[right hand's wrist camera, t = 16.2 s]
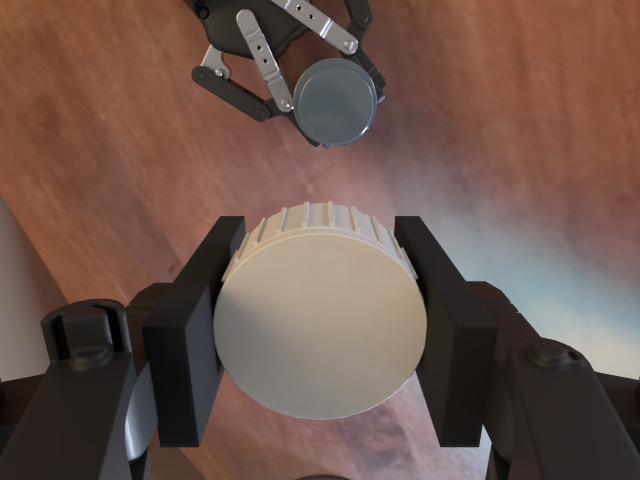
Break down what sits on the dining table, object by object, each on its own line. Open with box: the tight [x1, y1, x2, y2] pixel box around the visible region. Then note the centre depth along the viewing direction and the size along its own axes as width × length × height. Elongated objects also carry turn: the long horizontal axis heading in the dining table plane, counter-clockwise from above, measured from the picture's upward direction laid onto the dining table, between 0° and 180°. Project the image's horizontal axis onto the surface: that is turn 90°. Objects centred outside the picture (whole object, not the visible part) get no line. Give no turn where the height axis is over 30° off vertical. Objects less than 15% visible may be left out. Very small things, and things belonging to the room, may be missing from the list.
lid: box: [213, 201, 427, 419], centre depth 11 cm, size 5×5×2 cm
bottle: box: [293, 58, 377, 146], centre depth 29 cm, size 4×4×20 cm
